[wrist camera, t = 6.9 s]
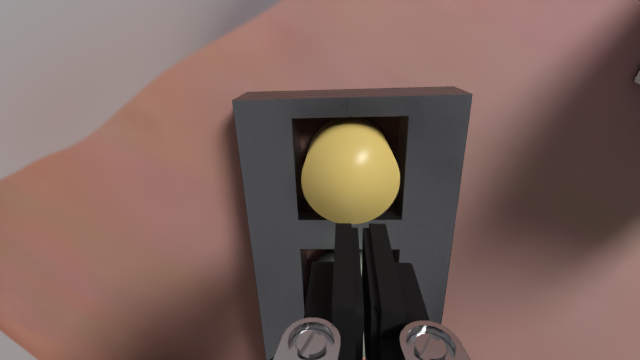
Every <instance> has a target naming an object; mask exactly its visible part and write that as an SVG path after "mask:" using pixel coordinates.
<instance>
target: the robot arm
mask: <svg viewBox="0 0 640 360" xmlns="http://www.w3.org/2000/svg"><path fill="white" fill-rule="evenodd" d="M363 332H364V346H365V360H471V359H470V357H469V355H468V354H467V352H466V350H465V348H464V347H463V345H462V343H461V341H460V340H459V339H458V337H457V336H456V335H455V334H454V333H453V332H452V331H451V330H449V329H448V328H447V327H445V326H443V325H441V324H439V323H435V322H431V321H430V320H429V317H428V313H427V310H426V307H425V304H424V300H423V297H422V294H421V291H420V287H419V284H418V281H417V278H416V275H415V271H414V268H413V265H412V263H398V262H394V258H393V253H392V249H391V245H390V240H389V236H388V232H387V227H386V224H378V223H369V228H363V235H362V276H361V262H360V249H359V236H358V228H352V224H351V223H336V226H335V248H334V262H333V261H312V265H311V272H310V279H309V286H308V292H307V299H306V306H305V313H304V319H300V320H298V321H296V322H294V323H293V324H291V325H290V326H289V327H288V328H287V329H286V331H285V332H284V334H283V336H282V338H281V341H280V344H279V346H278V349H277V351H276V354H275V356H274V357H273V358H271V359H270V360H363Z"/></svg>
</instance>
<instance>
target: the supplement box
mask: <svg viewBox="0 0 640 360" xmlns="http://www.w3.org/2000/svg"><path fill="white" fill-rule="evenodd" d="M634 81H635V83H637V84H640V71H639V72H638V74H637V76H636V77H635V80H634Z"/></svg>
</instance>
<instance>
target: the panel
mask: <svg viewBox="0 0 640 360" xmlns="http://www.w3.org/2000/svg"><path fill="white" fill-rule="evenodd" d="M471 101H472V94H471V93H468V92H466V91H463V90H461V89H458V88H456V87H454V86H453V87H417V88H381V89H344V90H308V91H272V92H247V93H245V94H243V95H241V96H239V97H237V98H236V99H234V100H232V103H233V111H234V119H235V126H236V134H237V141H238V149H239V157H240V164H241V172H242V179H243V187H244V194H245V202H246V210H247V217H248V225H249V232H250V240H251V247H252V255H253V263H254V270H255V278H256V285H257V293H258V301H259V308H260V316H261V323H262V331H263V338H264V346H265V354H266V360H270V359H271V358H273V357H274V356H275V354H276V351H277V349H278V346H279V344H280V341H281V338H282V336H283V334H284V332H285V331H286V329H287V328H288V327H289V326H290V325H291V324H293V323H294V322H296V321H298V320H300V319H304V313H305V306H306V299H307V292H308V286H309V284H308V267H307V250H306V249H334V248H335V226H336V222H332V221H330V220H328V219H326V218H324V217H322V216H321V215H319V214H318V213H317V212H316V211H315V210H314V209H313V208H312V207H311V206H310V205H309V203H308V202H307V200H306V198H303V189H302V184H301V175H302V164H301V147H300V130H299V118H337V117H382V116H399V121H398V139H397V157H396V162H397V164H398V168H399V172H400V185H399V190H398V193H397V195H396V198H395V199H394V201H393V203H392V204H391V205H390V207H389V208H388V209H387V210H386V211H385V212H384V213H382V214H381V215H380V216H378V217H376V218H375V219H373V220H370V221H368V222H365V223H360V224H352V228H358V236H359V249H362V235H363V228H369V223H378V224H386V227H387V232H388V236H389V240H390V245H391V249H392V253H393V258H394V262H398V263H412V265H413V268H414V271H415V275H416V278H417V281H418V284H419V287H420V291H421V294H422V297H423V300H424V304H425V307H426V310H427V313H428V317H429V320H430V321H431V322H435V323H439V324H441V322H442V315H443V308H444V300H445V293H446V286H447V278H448V271H449V263H450V256H451V249H452V241H453V234H454V227H455V219H456V212H457V205H458V197H459V190H460V182H461V175H462V168H463V160H464V153H465V146H466V138H467V131H468V123H469V116H470V109H471Z"/></svg>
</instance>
